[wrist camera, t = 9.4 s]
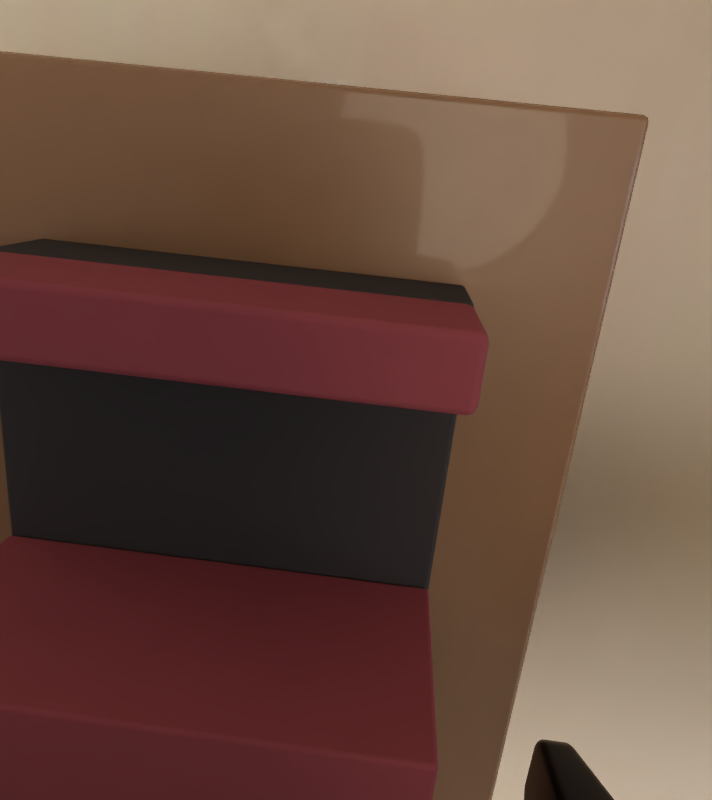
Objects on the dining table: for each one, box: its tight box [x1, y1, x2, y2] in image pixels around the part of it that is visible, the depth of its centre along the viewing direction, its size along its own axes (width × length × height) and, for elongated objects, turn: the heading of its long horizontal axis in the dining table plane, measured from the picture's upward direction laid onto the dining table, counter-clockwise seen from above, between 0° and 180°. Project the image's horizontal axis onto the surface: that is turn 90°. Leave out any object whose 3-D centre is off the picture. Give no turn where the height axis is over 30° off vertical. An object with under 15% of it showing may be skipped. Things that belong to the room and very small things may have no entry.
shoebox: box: [0, 51, 648, 800], centre depth 13 cm, size 9×16×7 cm, turn 174°
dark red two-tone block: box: [0, 239, 489, 800], centre depth 8 cm, size 5×12×4 cm, turn 174°
